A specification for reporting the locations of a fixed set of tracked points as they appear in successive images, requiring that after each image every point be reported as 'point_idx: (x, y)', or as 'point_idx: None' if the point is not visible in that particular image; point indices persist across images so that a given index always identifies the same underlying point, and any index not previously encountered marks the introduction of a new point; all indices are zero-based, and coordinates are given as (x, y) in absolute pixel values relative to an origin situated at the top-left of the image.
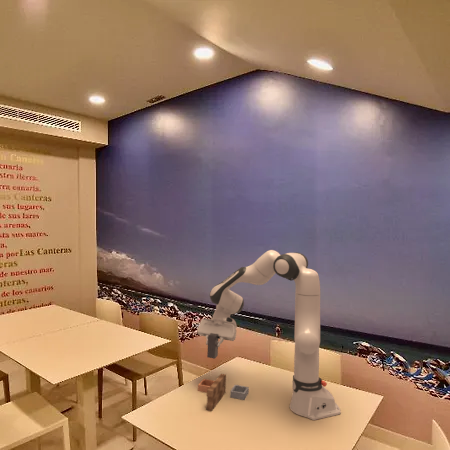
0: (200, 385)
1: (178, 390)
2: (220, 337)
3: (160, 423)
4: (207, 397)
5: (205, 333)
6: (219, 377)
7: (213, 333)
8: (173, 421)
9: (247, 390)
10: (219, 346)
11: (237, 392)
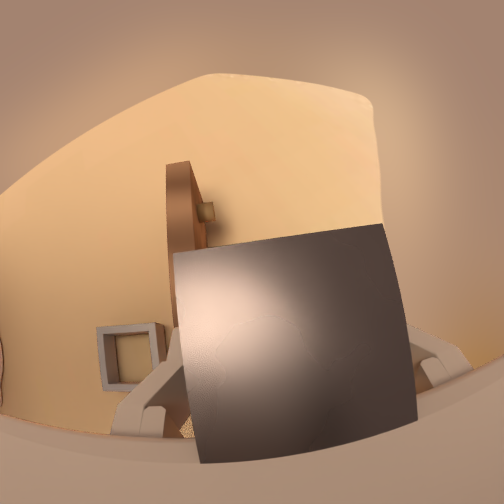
0: None
1: None
2: (160, 433)
3: (288, 103)
4: (194, 178)
5: (499, 356)
6: None
7: (353, 436)
8: (264, 119)
9: (102, 370)
10: None
11: (123, 325)
